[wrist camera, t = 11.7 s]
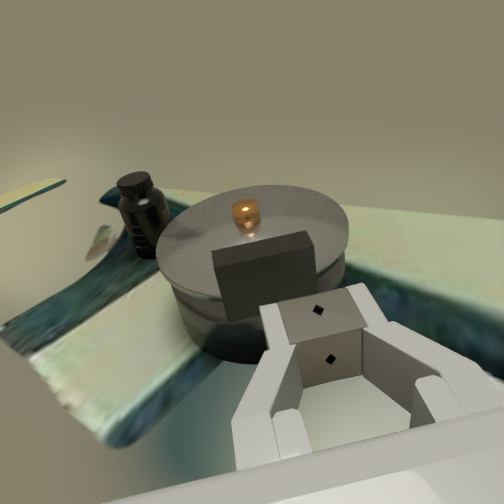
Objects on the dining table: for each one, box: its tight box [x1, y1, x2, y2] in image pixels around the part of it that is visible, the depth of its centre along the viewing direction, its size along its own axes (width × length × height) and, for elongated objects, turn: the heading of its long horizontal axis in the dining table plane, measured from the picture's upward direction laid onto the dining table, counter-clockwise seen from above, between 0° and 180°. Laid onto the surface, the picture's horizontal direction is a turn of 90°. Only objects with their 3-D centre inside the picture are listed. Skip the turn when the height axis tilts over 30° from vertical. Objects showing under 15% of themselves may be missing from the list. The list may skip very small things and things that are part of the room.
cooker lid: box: [156, 185, 349, 323], centre depth 42 cm, size 23×21×6 cm
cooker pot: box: [171, 253, 345, 365], centre depth 48 cm, size 20×20×9 cm
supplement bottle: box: [117, 171, 173, 258], centre depth 61 cm, size 7×7×12 cm
